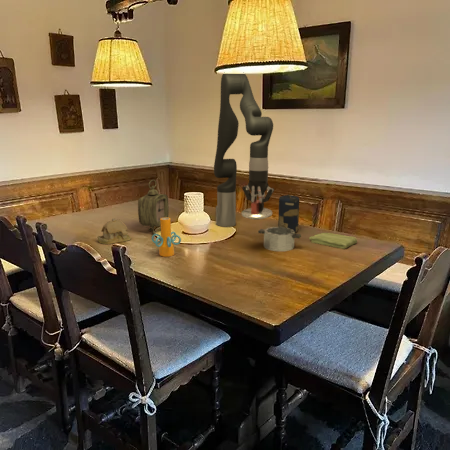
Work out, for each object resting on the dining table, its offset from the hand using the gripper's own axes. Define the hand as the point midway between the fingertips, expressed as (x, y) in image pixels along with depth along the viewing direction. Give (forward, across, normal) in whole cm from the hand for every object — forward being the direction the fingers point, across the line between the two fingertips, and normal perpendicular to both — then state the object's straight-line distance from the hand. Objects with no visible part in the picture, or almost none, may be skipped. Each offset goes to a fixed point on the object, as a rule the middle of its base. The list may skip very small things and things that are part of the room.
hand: (257, 211), depth 174 cm
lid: (+2, 0, 0) cm, 2 cm away
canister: (+17, +2, +32) cm, 37 cm away
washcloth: (+17, +25, +25) cm, 40 cm away
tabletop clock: (+17, -55, +3) cm, 58 cm away
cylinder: (+17, -30, -23) cm, 41 cm away
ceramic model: (+17, -62, -17) cm, 67 cm away
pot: (+17, +6, +8) cm, 20 cm away
